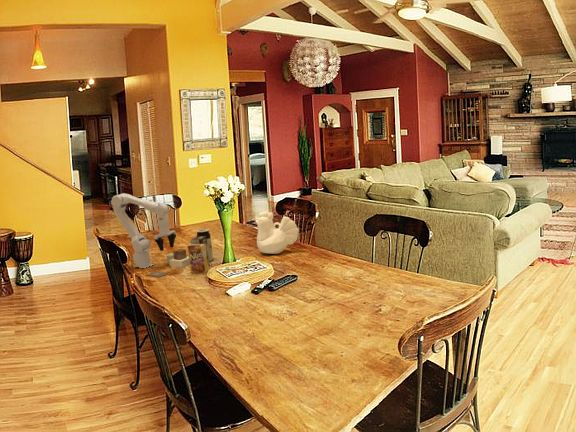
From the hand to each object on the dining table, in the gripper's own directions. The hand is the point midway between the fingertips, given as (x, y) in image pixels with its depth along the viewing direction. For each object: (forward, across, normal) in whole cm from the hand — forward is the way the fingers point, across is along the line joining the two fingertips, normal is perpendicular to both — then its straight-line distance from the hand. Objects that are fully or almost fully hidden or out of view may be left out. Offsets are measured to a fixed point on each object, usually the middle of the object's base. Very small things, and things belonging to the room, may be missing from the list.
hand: (166, 248), depth 308 cm
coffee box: (+10, +6, -20) cm, 23 cm away
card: (+10, -16, -8) cm, 20 cm away
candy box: (+10, -4, -28) cm, 30 cm away
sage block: (+10, +6, +3) cm, 12 cm away
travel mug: (+10, +16, -14) cm, 24 cm away
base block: (+10, +4, -6) cm, 13 cm away
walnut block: (+6, +4, -6) cm, 9 cm away
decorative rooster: (+10, +42, -47) cm, 64 cm away
